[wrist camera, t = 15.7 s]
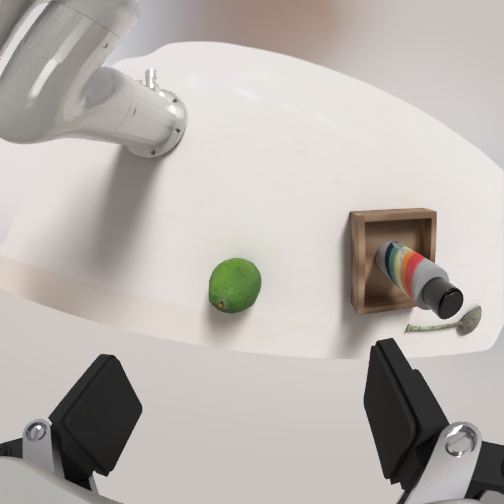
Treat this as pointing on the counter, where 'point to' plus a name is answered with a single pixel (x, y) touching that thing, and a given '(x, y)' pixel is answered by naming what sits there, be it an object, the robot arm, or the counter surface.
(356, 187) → the counter surface
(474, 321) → the soupspoon
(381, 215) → the walnut tray
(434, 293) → the lotion bottle
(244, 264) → the avocado
